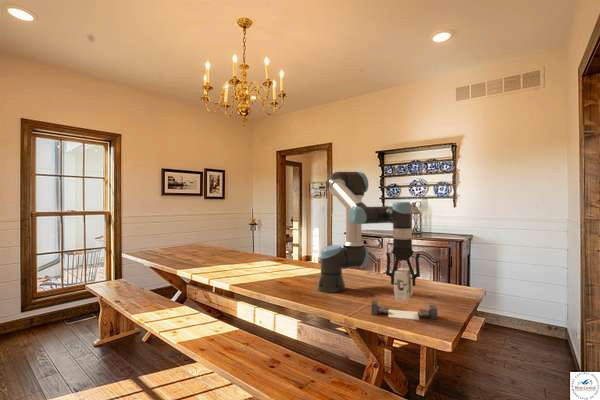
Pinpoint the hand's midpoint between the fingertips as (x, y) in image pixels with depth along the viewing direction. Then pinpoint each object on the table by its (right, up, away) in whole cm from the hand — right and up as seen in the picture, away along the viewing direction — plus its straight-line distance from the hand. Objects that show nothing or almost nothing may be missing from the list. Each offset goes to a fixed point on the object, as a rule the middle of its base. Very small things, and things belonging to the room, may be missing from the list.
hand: (403, 292), depth 134 cm
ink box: (0, -2, 0) cm, 2 cm away
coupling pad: (0, -9, 0) cm, 9 cm away
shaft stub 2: (+9, -9, -2) cm, 13 cm away
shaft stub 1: (-9, -9, +3) cm, 13 cm away
